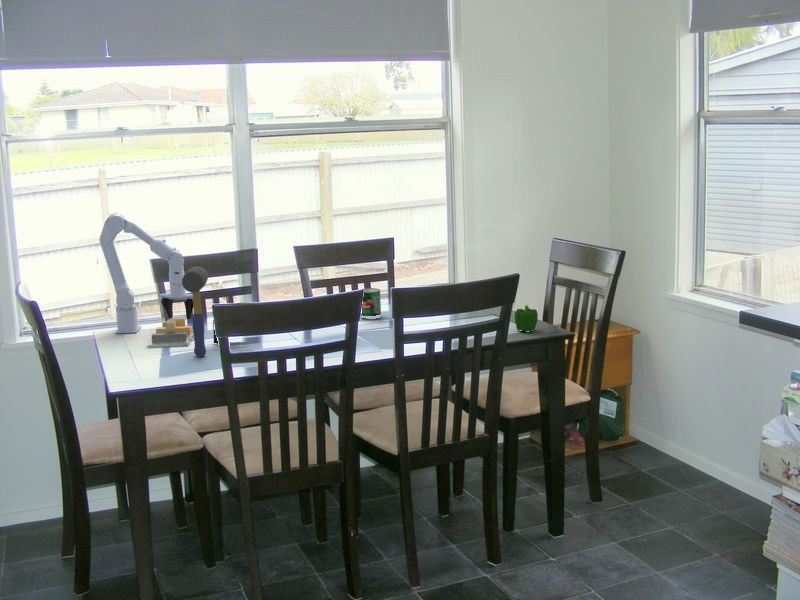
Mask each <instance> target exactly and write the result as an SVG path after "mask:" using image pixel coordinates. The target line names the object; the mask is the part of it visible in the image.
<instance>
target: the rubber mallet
mask: <svg viewBox="0 0 800 600" xmlns="http://www.w3.org/2000/svg"><path fill="white" fill-rule="evenodd" d="M208 279H209V275H208V272H207V270H206V269H205V268H204V267H202V266H199V265H198V266H197V265H196V266H193V267H190V268H189V269H188V270H186V272H184V276H183V279H182V285H183V287H184V289H185V290H186V292H189V293H191V294H193V310H192V311H193V313H192V314H193V315H192V328H193V333H194V336H193V341H194V349H193V353H194V354H195V356H196V357H199V358H201V356H202V357H205V356H206V352H207V347H206V344H205V321H204V316H203V313H202V302H201V301H202V299H201V290H202V289H203V288H204V287H205V286H206V284H207V282H208ZM204 355H205V356H204Z"/></svg>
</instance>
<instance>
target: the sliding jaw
mask: <svg viewBox="0 0 800 600" xmlns="http://www.w3.org/2000/svg"><path fill="white" fill-rule="evenodd" d="M168 320H176V332H187V334H191V328H192V325H186V318H184V317H183V318H168ZM168 320H167V321H168ZM155 333H166V326H157V327H156V329H155Z"/></svg>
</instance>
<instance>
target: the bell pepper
mask: <svg viewBox="0 0 800 600" xmlns="http://www.w3.org/2000/svg"><path fill="white" fill-rule="evenodd" d="M538 316H539V315H538V311H537V309H534V308H533V309H531V308H530V307H529V305H528V304H526V305H524V309H522V308H516V310H515V312H514V322H515V327H516V330H517V331H518V330H522V331H532V330H533V331H534V330H535V329H536V327H537V323H538ZM533 331H532V332H533Z"/></svg>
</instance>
